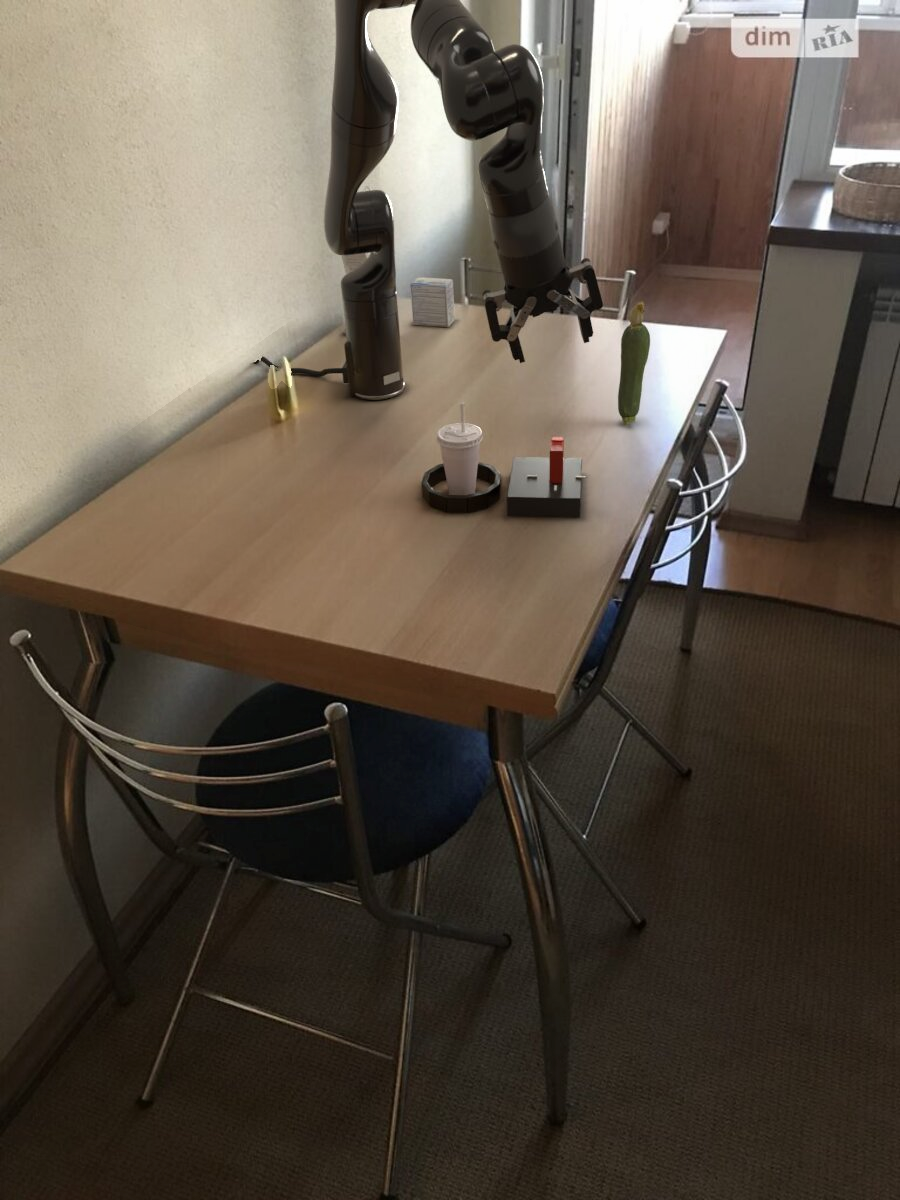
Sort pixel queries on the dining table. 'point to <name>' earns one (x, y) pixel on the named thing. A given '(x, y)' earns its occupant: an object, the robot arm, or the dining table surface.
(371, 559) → the dining table surface
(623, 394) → the vegetable
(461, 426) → the smoothie
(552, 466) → the knob
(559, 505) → the panel
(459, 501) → the ring
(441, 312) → the grey striped block
